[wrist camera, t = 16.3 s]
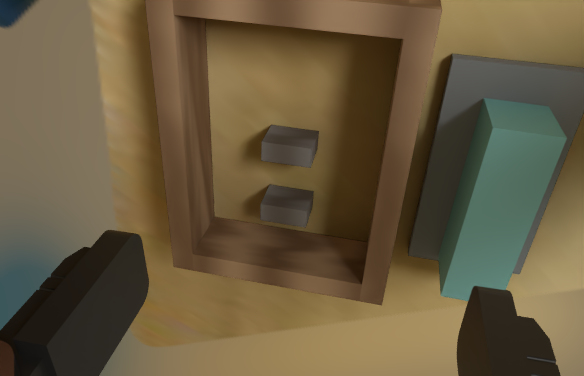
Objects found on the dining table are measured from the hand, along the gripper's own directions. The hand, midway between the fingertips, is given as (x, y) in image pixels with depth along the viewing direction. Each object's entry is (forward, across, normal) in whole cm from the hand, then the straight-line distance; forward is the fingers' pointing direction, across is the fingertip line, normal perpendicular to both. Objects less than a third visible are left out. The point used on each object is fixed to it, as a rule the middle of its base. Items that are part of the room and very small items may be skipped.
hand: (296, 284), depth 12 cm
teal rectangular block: (+25, -10, +11) cm, 29 cm away
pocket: (+26, +5, +9) cm, 28 cm away
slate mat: (+26, -10, +10) cm, 30 cm away
